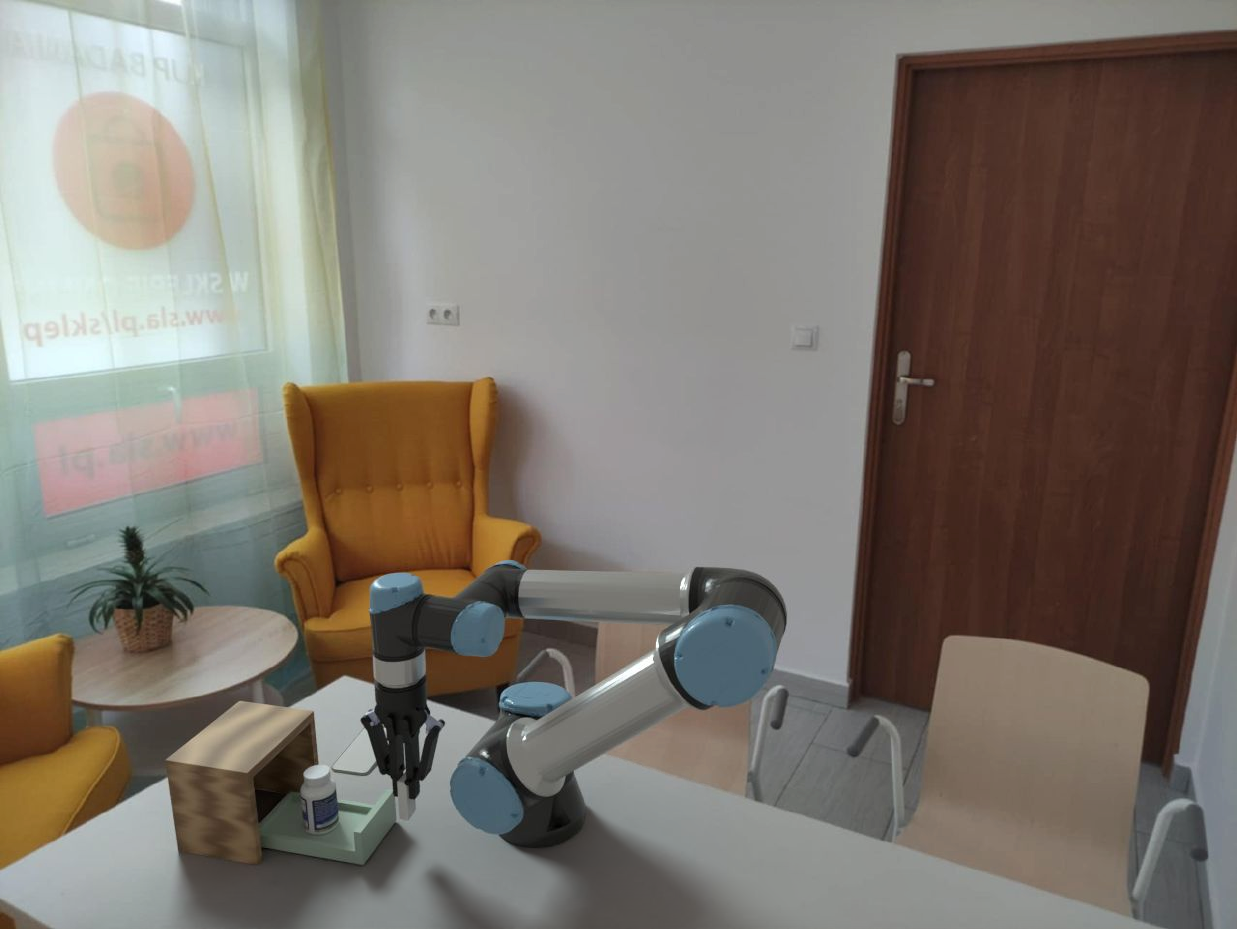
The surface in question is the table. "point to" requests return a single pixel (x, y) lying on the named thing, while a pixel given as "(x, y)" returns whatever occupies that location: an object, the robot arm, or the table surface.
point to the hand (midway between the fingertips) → (407, 814)
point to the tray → (344, 843)
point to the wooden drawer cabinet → (237, 777)
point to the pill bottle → (319, 800)
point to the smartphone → (357, 756)
